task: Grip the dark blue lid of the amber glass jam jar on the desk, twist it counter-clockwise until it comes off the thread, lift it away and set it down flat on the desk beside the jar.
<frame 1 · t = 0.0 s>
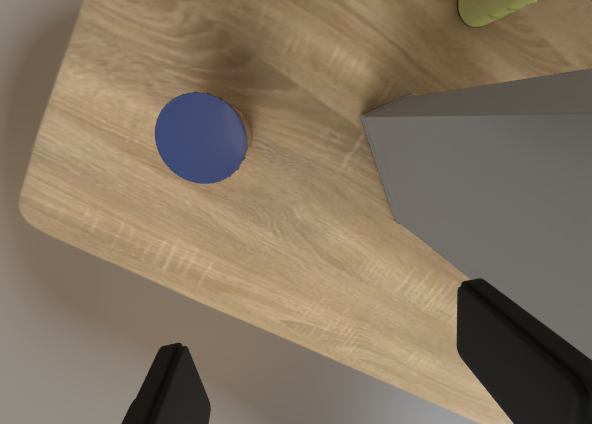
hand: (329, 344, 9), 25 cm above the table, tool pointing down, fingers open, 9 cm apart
tube: (476, 2, 29), on the table
jar lid: (202, 140, 22), point 10 cm above the table, screwed on, not yet turned
tall grey upright box: (400, 161, 34), on the table
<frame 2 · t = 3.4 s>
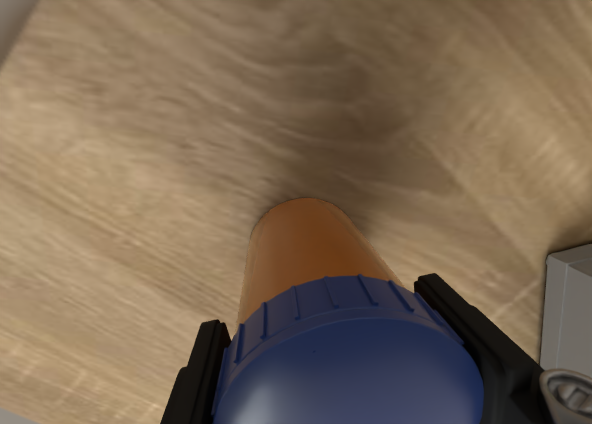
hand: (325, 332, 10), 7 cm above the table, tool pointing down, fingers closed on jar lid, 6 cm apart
jar lid: (349, 419, 7), point 10 cm above the table, screwed on, not yet turned, touching gripper
jam jar: (304, 250, 16), on the table
tall grey upright box: (575, 322, 20), on the table
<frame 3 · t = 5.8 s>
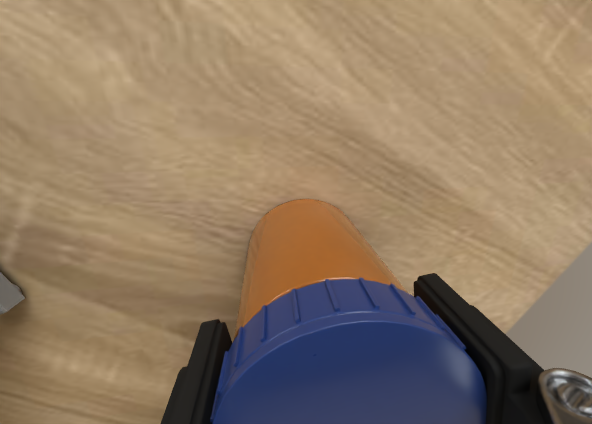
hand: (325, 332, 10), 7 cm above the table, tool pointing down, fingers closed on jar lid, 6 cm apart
jam jar: (304, 251, 16), on the table
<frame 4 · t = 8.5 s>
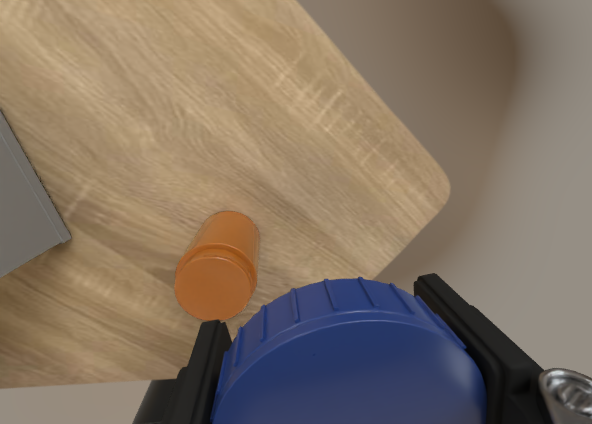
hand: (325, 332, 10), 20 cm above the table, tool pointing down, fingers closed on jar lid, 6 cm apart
jam jar: (229, 239, 30), on the table
tall grey upright box: (6, 178, 26), on the table
when the fingers open (0 cm above the table, at t = 13.7 s): jar lid drops 2 cm, point 1 cm above the table.
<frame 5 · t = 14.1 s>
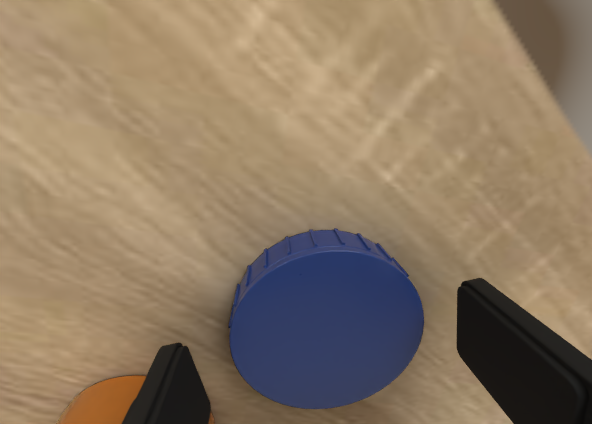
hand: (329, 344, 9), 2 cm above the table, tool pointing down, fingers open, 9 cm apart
jar lid: (327, 332, 10), point 1 cm above the table, off its thread
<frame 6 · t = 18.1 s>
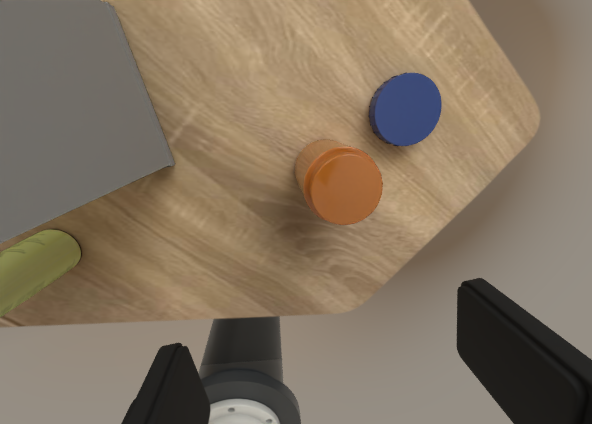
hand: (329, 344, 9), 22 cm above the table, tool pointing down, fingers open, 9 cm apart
tube: (61, 248, 30), on the table
jar lid: (406, 110, 28), point 1 cm above the table, off its thread
jam jar: (324, 169, 30), on the table
tall grey upright box: (118, 100, 26), on the table
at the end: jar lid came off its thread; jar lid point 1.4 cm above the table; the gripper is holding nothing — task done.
